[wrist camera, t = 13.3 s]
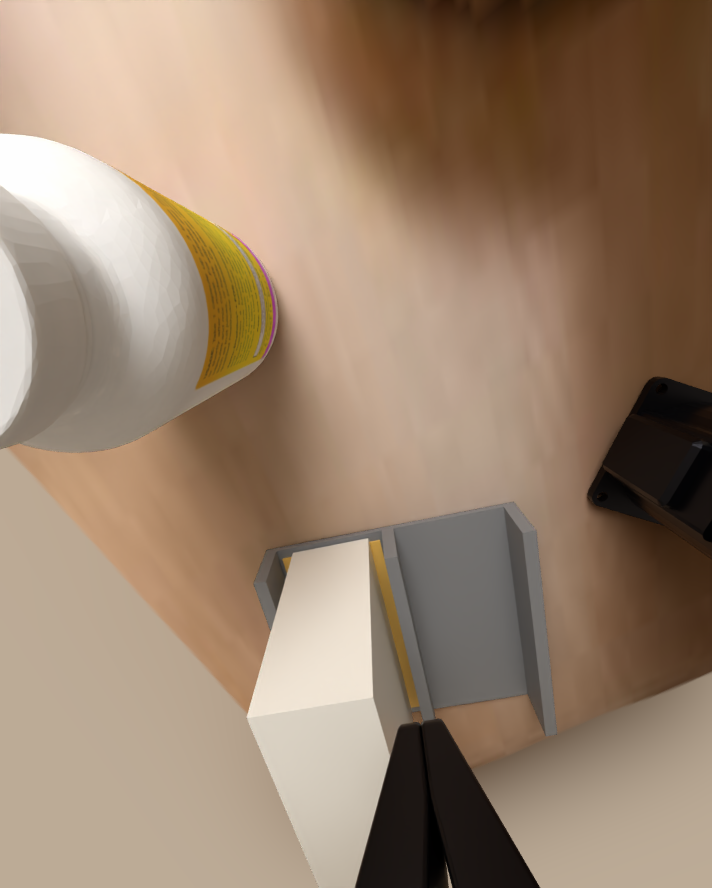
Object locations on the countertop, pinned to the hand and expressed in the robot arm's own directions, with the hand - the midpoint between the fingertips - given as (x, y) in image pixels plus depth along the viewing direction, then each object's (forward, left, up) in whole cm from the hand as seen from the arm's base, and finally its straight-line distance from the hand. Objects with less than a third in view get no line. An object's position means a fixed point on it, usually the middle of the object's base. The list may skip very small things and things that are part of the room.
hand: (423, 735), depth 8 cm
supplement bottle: (+10, -5, -13) cm, 17 cm away
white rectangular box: (-2, +10, -13) cm, 16 cm away
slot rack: (-4, +8, -13) cm, 16 cm away
